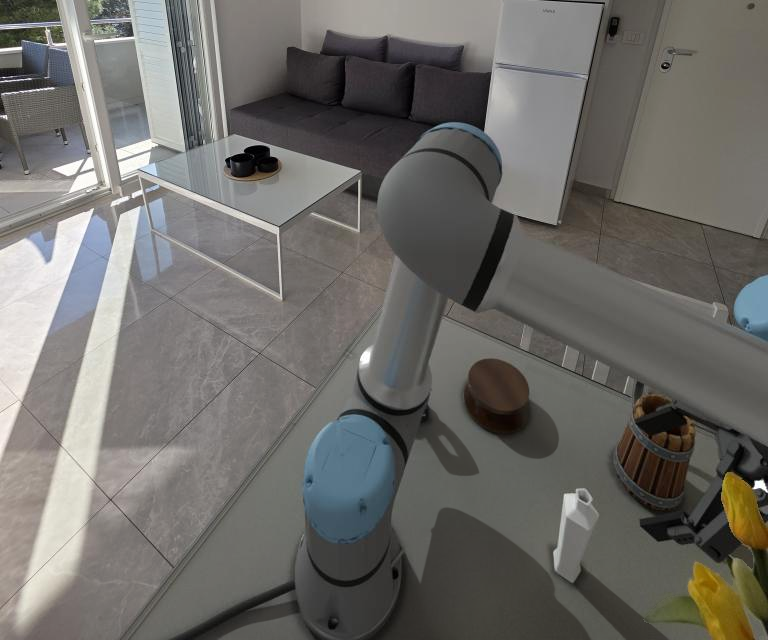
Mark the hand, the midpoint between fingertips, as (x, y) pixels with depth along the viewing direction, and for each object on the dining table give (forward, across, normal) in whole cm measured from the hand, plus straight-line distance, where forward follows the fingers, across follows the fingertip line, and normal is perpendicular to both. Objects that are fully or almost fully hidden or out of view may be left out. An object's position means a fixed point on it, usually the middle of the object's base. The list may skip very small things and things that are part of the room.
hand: (644, 474), depth 59 cm
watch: (+35, +4, +21) cm, 41 cm away
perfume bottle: (+18, -7, -3) cm, 19 cm away
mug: (+14, +14, -14) cm, 24 cm away
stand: (+28, +14, +9) cm, 32 cm away
